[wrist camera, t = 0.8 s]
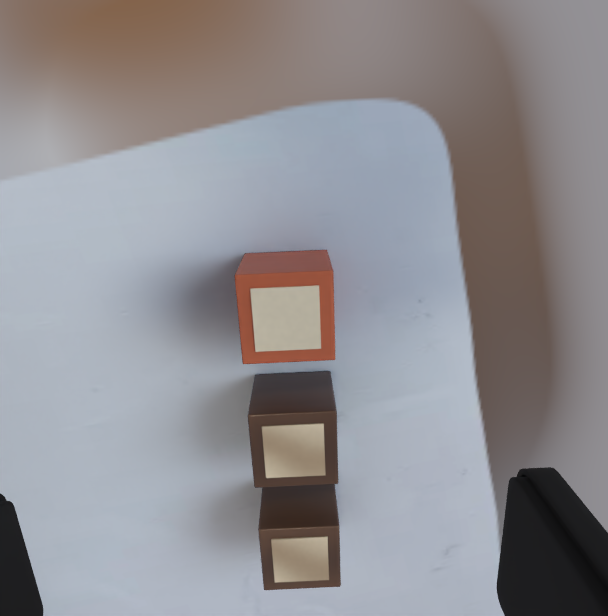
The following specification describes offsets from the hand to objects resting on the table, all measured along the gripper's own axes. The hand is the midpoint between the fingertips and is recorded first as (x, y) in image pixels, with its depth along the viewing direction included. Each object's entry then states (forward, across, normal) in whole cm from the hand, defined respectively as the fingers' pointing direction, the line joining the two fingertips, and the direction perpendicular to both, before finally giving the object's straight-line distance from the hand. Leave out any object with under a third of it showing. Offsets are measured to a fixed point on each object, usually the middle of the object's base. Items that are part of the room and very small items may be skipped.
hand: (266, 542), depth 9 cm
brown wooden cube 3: (+16, 0, +13) cm, 20 cm away
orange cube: (+16, 0, 0) cm, 16 cm away
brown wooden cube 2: (+16, 0, +6) cm, 17 cm away
